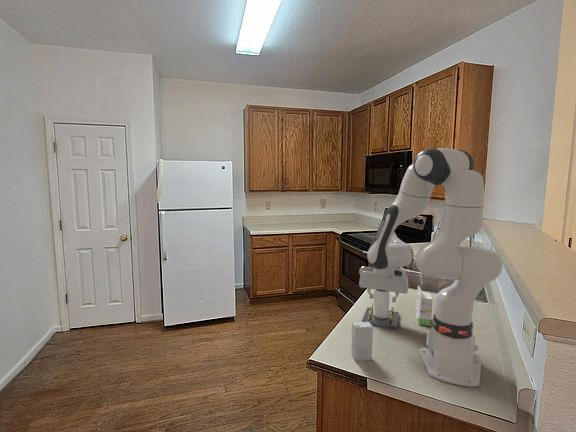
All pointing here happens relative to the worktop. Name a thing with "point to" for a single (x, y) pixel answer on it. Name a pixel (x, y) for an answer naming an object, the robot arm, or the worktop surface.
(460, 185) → the robot arm
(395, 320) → the plate
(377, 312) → the can
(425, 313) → the ink box
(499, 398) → the worktop surface
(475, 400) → the worktop surface
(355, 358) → the skincare box
